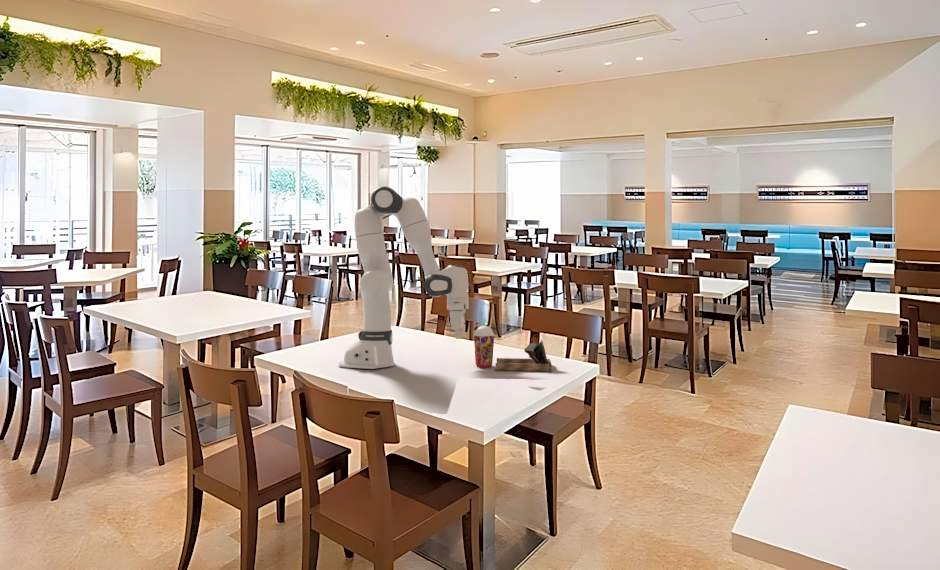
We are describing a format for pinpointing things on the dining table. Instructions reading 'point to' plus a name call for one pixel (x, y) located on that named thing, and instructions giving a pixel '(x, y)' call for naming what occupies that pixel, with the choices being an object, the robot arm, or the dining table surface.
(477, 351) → the smoothie
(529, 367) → the cradle
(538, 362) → the bell
